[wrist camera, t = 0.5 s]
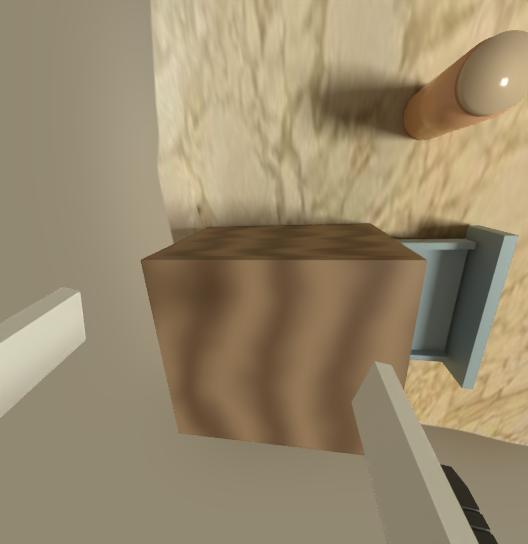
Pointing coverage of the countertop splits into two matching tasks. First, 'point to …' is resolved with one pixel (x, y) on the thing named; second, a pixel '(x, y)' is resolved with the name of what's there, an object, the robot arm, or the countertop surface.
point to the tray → (460, 297)
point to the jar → (472, 88)
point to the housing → (281, 328)
